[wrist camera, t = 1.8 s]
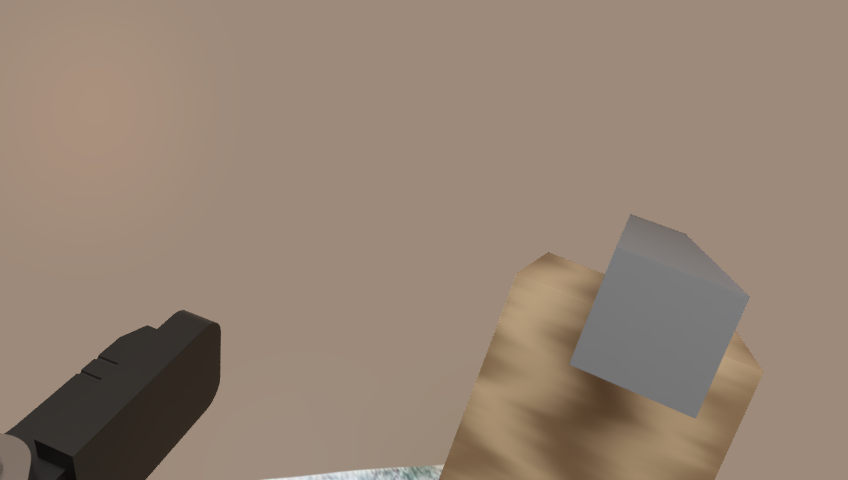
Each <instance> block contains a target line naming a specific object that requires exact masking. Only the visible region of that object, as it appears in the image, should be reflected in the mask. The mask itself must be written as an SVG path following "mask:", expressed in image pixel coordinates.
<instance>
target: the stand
mask: <svg viewBox="0 0 848 480" xmlns="http://www.w3.org/2000/svg"><path fill="white" fill-rule="evenodd" d="M604 276H605V274H603V273H600V272H598V271H595V270H593V269H590V268H587V267H585V266H582V265H580V264H577V263H574V262H572V261H569V260H566V259H564V258H562V257H559V256H556V255H554V254H551V253H549V252H548V253H547V254H545V255H543V256H542V257H540V258H539V259H537V260H536V261H535V262H533V263H531V264H530V265H529V266H527V267H525V268H524V269H522V270H521V271H520V272H518V273H517V275H516V277H515V280H514V282H513V285H512V288H511V290H510V293H509V296H508V298H507V301H506V304H505V306H504V309H503V311H502V314H501V317H500V320H499V322H498V325H497V328H496V330H495V333H494V336H493V338H492V341H491V343H490V346H489V349H488V351H487V354H486V357H485V359H484V362H483V365H482V367H481V370H480V373H479V375H478V378H477V381H476V383H475V386H474V389H473V391H472V394H471V396H470V399H469V402H468V404H467V407H466V410H465V412H464V415H463V417H462V420H461V423H460V426H459V428H458V431H457V433H456V436H455V439H454V442H453V444H452V447H451V449H450V452H449V455H448V458H447V460H446V463H445V465H444V468H443V470H442V473H441V476H440V478H439V480H714V479H715V477H716V475H717V473H718V471H719V469H720V466H721V464H722V462H723V460H724V457H725V455H726V453H727V451H728V449H729V447H730V444H731V442H732V440H733V438H734V436H735V433H736V431H737V429H738V427H739V425H740V422H741V420H742V418H743V416H744V414H745V412H746V410H747V407H748V405H749V403H750V401H751V399H752V396H753V394H754V392H755V390H756V388H757V385H758V383H759V381H760V379H761V377H762V375H763V370H762V369H761V367H760V366H759V364H758V363H757V361H756V360H755V358H754V357H753V355H752V354H751V352H750V351H749V349H748V348H747V347H746V345H745V344H744V342H743V341H742V339H741V338H740V336H739V335H738V333H737V332H736V330H735V331H734V334H733V336H732V338H731V340H730V343H729V345H728V347H727V349H726V352H725V354H724V356H723V358H722V361H721V363H720V365H719V367H718V370H717V372H716V374H715V376H714V379H713V381H712V383H711V385H710V388H709V390H708V392H707V394H706V397H705V399H704V401H703V403H702V406H701V408H700V410H699V412H698V415H697V417H696V419H695V418H693V417H690V416H688V415H686V414H683V413H681V412H679V411H676V410H674V409H672V408H669V407H667V406H665V405H662V404H660V403H658V402H655V401H653V400H651V399H648V398H646V397H644V396H641V395H639V394H637V393H634V392H632V391H630V390H627V389H625V388H623V387H620V386H618V385H616V384H613V383H611V382H609V381H606V380H604V379H602V378H599V377H597V376H595V375H592V374H590V373H588V372H585V371H583V370H581V369H578V368H576V367H574V366H571V365H569V363H570V361H571V358H572V356H573V353H574V351H575V348H576V346H577V343H578V341H579V338H580V336H581V333H582V331H583V328H584V326H585V323H586V321H587V318H588V316H589V313H590V311H591V308H592V306H593V303H594V301H595V298H596V296H597V293H598V291H599V288H600V286H601V283H602V281H603V278H604Z"/></svg>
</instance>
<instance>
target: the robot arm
mask: <svg viewBox="0 0 848 480" xmlns="http://www.w3.org/2000/svg"><path fill="white" fill-rule="evenodd" d="M220 330H221V329H220V326H219V324H218V323H215V322H213V321H210V320H208V319H205V318H203V317H200V316H198V315H195V314H193V313H190V312H187V311H185V310H182V311H178V312H177V313H175V314H174V315H173V316H172V317H170V318H169V319H168V320H167V321H166V322H165V323H164V324H163V325H161V326H160V327H159V328H158V329H155V328H153V327H150V326H145V327H142V328H140V329H138V330H136V331H133V332H131V333H129V334H126V335H124V336H122V337H120V338H118V339H117V340H116V341H115V342H114V343H113V344H112V345H110V346H109V347H108V348H107V349H105V350H104V351H103V352H102V353H101V354H100V355H99V356H98V358H97V359H94V360H92V361H91V362H90V363H89V364H88V365H87V366H85V367H84V368H83V369H82V370H81V373H80V374H76V375H75V376H74V377H72V378H71V379H70V380H69V381H68V382H66V383H65V384H64V385H63V386H62V387H61V388H59V389H58V390H57V391H56V392H55V393H54V394H53V395H51V396H50V397H49V398H48V399H46V400H45V401H44V402H43V403H42V404H40V405H39V406H38V407H37V408H36V409H35V410H33V411H32V412H31V413H30V414H29V415H28V416H27V417H25V418H24V419H23V420H22V421H20V422H19V423H18V424H17V425H16V426H15V427H13V428H12V429H11V430H9V431H8V432H7V433H5V434H0V480H145V479H146V478H147V477H148V476H149V475H150V474H151V473H152V472H153V470H154V469H155V468H156V467H157V466H158V465H159V464H160V462H161V461H162V460H163V459H164V457H166V455H167V454H168V453H169V452H170V451H171V450H172V448H173V447H174V446H175V445H176V444H177V443H178V442H179V440H180V439H181V438H182V437H183V436H184V435H185V434H186V433H187V431H188V430H189V429H190V428H191V427H192V425H194V423H195V422H196V421H197V420H198V419H199V418H200V416H201V415H202V414H203V413H204V412H205V411H206V410H207V408H208V407H209V406H210V404H211V402H212V401H213V399H214V397H215V395H216V392H217V390H218V386H219V382H220V346H221V344H220V343H221V331H220Z"/></svg>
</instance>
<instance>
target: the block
mask: <svg viewBox="0 0 848 480" xmlns="http://www.w3.org/2000/svg"><path fill="white" fill-rule="evenodd" d="M749 297H750V296H749V295H748V294H747V293H745V292H744V291H743V290H742V289H741V288H740V287H739V286H738V285H737V284H736V283H735V282H734V281H733V280H732V279H731V278H730V277H729V276H728V275H727V274H726V273H725V272H724V271H723V270H722V269H721V268H720V267H719V266H718V265H717V264H716V263H715V262H714V261H713V260H712V259H711V258H710V257H709V256H708V255H706V254H705V252H704V251H702V250H701V249H700V248H699V247H698V246H697V245H696V244H695V243H694V242H693V241H692V240H691V239H690V238H689V237H688V236H687V235H686V234H684V233H682V232H679V231H676V230H673V229H670V228H667V227H665V226H662V225H659V224H656V223H654V222H651V221H648V220H645V219H642V218H640V217H637V216H634V215H630V217H629V219H628V221H627V223H626V226H625V228H624V230H623V233H622V235H621V237H620V240H619V242H618V244H617V246H616V249H615V251H614V253H613V256H612V258H611V261H610V263H609V266H608V268H607V271H606V274H605V276H604V278H603V281H602V283H601V286H600V288H599V291H598V293H597V296H596V298H595V301H594V303H593V306H592V308H591V311H590V313H589V316H588V318H587V321H586V323H585V326H584V328H583V331H582V333H581V336H580V338H579V341H578V343H577V346H576V348H575V351H574V353H573V356H572V358H571V361H570V363H569V365H571V366H574V367H576V368H578V369H581V370H583V371H585V372H588V373H590V374H592V375H595V376H597V377H599V378H602V379H604V380H606V381H609V382H611V383H613V384H616V385H618V386H620V387H623V388H625V389H627V390H630V391H632V392H634V393H637V394H639V395H641V396H644V397H646V398H648V399H651V400H653V401H655V402H658V403H660V404H662V405H665V406H667V407H669V408H672V409H674V410H676V411H679V412H681V413H683V414H686V415H688V416H690V417H693V418H695V419H696V417H697V415H698V412H699V410H700V408H701V406H702V403H703V401H704V399H705V397H706V394H707V392H708V390H709V388H710V385H711V383H712V381H713V379H714V376H715V374H716V372H717V370H718V367H719V365H720V363H721V361H722V358H723V356H724V354H725V352H726V349H727V347H728V345H729V343H730V340H731V338H732V336H733V334H734V331H735V329H736V327H737V325H738V322H739V320H740V318H741V316H742V313H743V311H744V308H745V307H746V304H747V302H748V300H749Z"/></svg>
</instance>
